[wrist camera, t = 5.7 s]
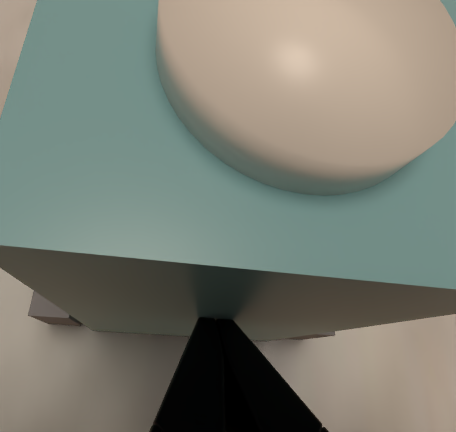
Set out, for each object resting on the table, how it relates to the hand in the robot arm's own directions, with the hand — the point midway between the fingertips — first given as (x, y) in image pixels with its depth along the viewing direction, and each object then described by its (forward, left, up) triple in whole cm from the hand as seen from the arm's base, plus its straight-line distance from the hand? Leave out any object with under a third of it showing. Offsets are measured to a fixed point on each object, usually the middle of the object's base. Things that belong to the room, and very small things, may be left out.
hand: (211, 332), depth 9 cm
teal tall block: (+3, -2, -7) cm, 8 cm away
